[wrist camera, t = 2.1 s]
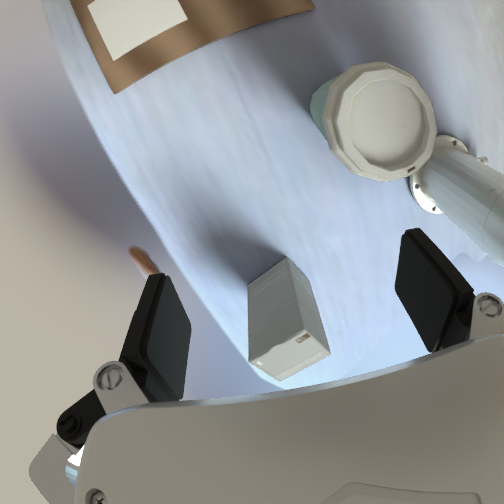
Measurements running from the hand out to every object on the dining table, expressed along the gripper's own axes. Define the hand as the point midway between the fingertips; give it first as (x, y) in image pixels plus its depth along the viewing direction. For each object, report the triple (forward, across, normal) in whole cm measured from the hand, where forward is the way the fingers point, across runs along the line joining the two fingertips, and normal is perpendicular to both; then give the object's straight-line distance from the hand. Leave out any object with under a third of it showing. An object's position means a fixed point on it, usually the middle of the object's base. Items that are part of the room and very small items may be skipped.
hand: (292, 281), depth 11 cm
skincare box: (+27, 0, +22) cm, 35 cm away
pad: (+26, +11, -21) cm, 35 cm away
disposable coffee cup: (+27, -11, -3) cm, 29 cm away
